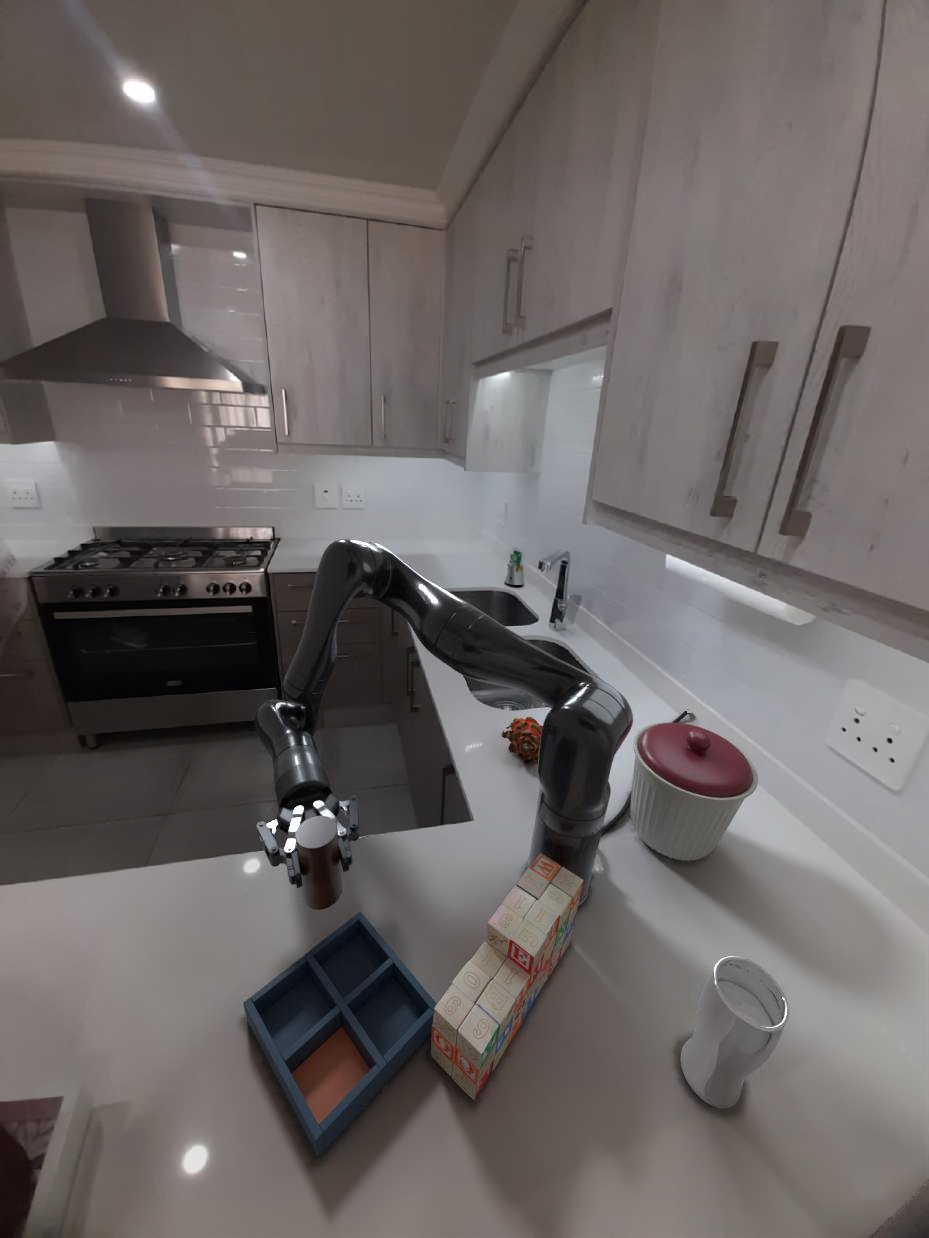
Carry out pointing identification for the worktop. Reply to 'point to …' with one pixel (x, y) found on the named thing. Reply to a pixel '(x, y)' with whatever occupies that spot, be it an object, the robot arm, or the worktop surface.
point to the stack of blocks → (505, 974)
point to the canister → (686, 788)
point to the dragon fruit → (524, 738)
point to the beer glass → (733, 1030)
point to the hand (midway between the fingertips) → (323, 873)
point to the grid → (339, 1026)
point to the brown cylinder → (319, 861)
